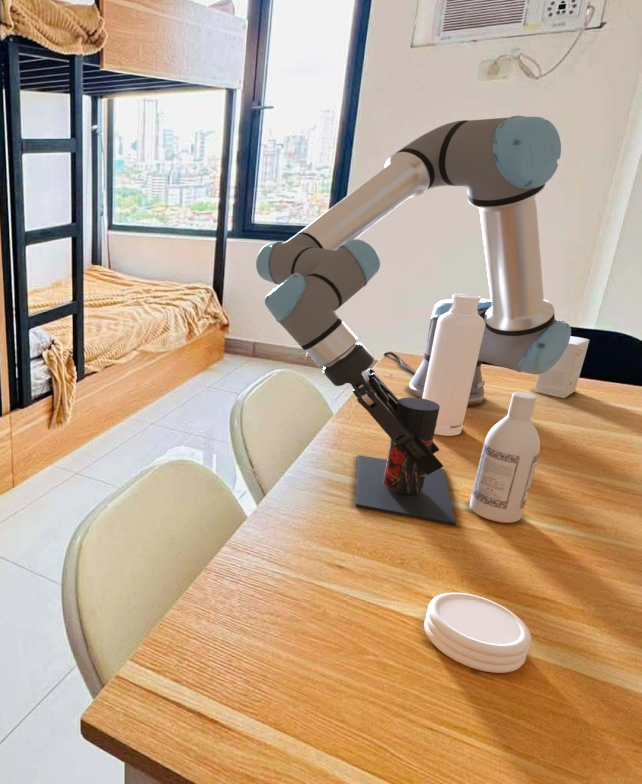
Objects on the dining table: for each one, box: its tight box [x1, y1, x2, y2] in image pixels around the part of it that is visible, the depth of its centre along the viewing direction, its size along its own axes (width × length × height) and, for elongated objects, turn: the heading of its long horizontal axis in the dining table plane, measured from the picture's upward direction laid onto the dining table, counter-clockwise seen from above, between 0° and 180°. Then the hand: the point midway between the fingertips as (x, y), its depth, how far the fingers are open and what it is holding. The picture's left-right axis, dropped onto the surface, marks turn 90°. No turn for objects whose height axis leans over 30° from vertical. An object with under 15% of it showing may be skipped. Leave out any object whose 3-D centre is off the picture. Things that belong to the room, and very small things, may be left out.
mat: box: [355, 454, 457, 527], centre depth 108 cm, size 20×14×1 cm
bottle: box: [422, 293, 485, 437], centre depth 127 cm, size 8×8×28 cm
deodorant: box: [383, 396, 440, 494], centre depth 104 cm, size 6×6×15 cm
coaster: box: [423, 592, 532, 674], centre depth 72 cm, size 10×10×4 cm
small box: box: [533, 335, 590, 399], centre depth 149 cm, size 8×6×13 cm
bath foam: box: [469, 391, 541, 524], centre depth 96 cm, size 7×7×20 cm
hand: (433, 461), depth 103 cm, fingers closed on deodorant, 6 cm apart
